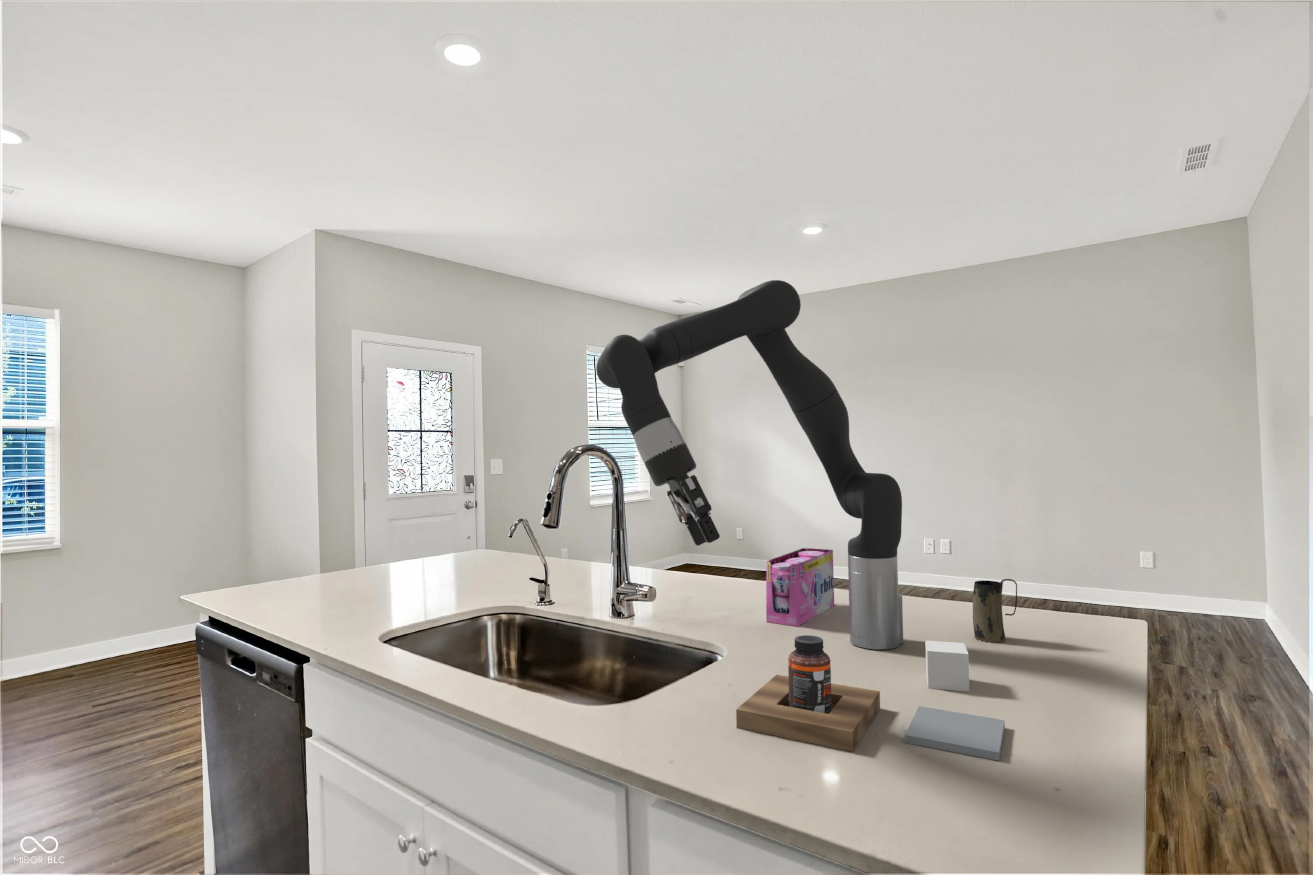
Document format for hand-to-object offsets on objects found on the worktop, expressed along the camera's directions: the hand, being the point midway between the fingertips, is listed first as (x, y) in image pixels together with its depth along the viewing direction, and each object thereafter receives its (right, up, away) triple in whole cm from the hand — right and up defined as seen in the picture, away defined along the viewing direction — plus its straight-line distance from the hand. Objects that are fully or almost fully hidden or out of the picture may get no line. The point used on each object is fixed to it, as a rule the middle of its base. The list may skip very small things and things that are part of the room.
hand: (707, 542), depth 108 cm
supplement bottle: (+14, -24, -11) cm, 30 cm away
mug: (+58, -23, +25) cm, 68 cm away
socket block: (+14, -23, -11) cm, 29 cm away
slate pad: (+32, -23, -18) cm, 43 cm away
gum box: (+25, -24, +48) cm, 60 cm away
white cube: (+39, -23, +2) cm, 45 cm away
